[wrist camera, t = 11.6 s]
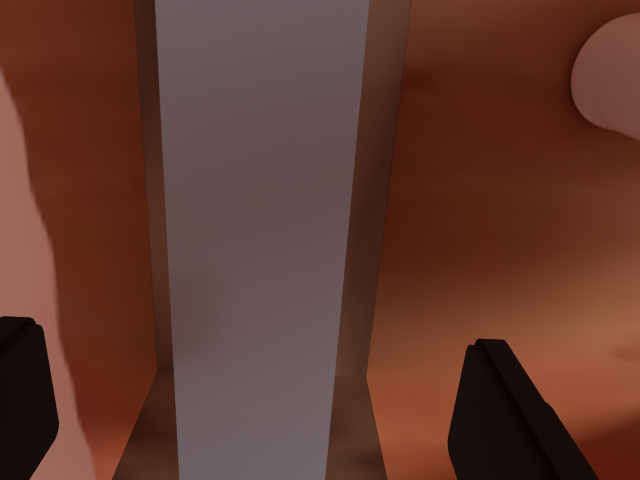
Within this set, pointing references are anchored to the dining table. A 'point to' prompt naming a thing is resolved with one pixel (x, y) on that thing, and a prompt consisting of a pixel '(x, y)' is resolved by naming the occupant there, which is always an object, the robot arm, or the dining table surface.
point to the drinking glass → (610, 76)
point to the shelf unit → (360, 264)
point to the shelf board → (257, 224)
